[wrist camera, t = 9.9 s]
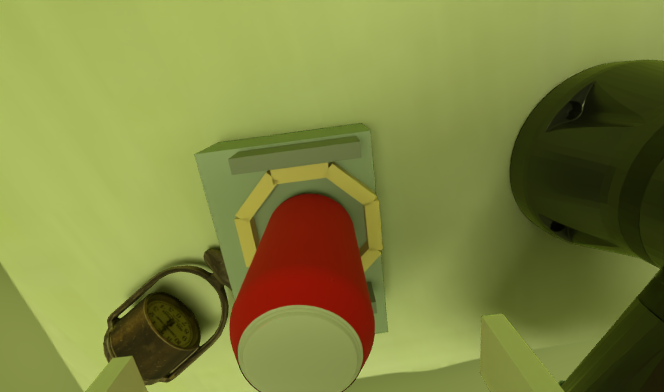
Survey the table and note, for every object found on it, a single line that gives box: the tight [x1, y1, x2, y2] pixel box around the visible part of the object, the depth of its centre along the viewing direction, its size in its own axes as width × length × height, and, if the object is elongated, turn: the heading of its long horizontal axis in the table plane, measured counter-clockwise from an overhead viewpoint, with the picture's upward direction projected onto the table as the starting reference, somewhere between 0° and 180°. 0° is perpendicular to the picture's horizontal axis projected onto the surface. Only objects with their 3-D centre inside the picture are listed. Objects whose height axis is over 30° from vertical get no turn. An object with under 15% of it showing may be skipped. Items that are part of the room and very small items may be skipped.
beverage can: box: [230, 193, 375, 392], centre depth 17 cm, size 6×6×12 cm
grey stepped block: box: [194, 123, 388, 334], centre depth 25 cm, size 12×17×8 cm
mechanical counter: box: [103, 249, 232, 385], centre depth 27 cm, size 7×13×10 cm
